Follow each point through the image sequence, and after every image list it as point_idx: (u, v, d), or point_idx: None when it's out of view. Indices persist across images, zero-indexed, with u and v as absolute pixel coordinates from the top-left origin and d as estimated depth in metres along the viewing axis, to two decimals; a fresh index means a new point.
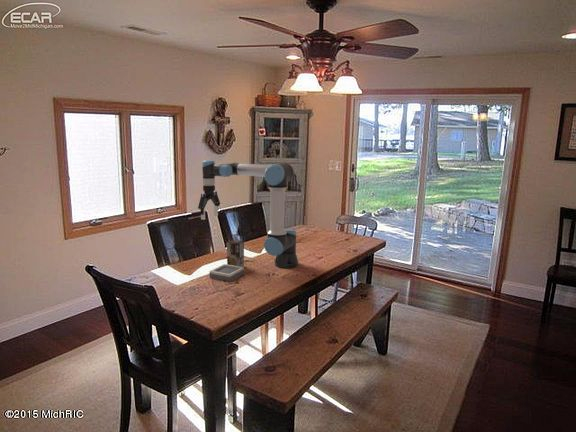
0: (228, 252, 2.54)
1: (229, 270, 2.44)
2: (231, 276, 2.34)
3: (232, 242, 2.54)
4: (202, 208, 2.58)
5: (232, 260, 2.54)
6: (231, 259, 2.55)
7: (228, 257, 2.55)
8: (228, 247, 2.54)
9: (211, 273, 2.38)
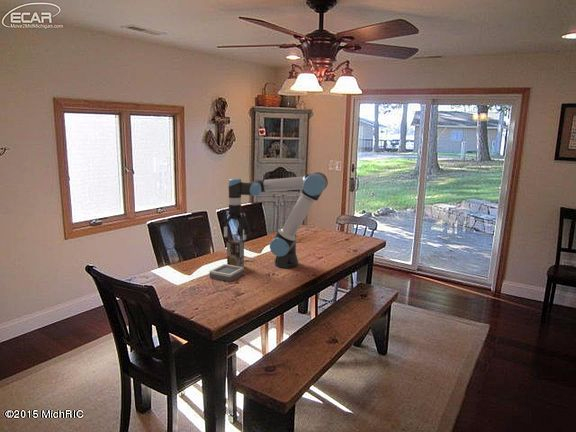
0: (228, 252, 2.54)
1: (229, 270, 2.44)
2: (231, 276, 2.34)
3: (232, 242, 2.54)
4: (222, 225, 2.56)
5: (232, 260, 2.54)
6: (231, 259, 2.55)
7: (228, 257, 2.55)
8: (228, 247, 2.54)
9: (211, 273, 2.38)
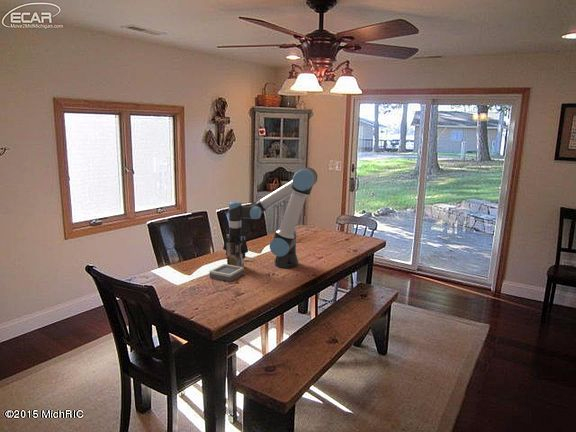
0: (228, 252, 2.54)
1: (229, 270, 2.44)
2: (231, 276, 2.34)
3: (232, 242, 2.54)
4: (225, 249, 2.58)
5: (232, 260, 2.54)
6: (231, 259, 2.55)
7: (228, 257, 2.55)
8: (228, 247, 2.54)
9: (211, 273, 2.38)
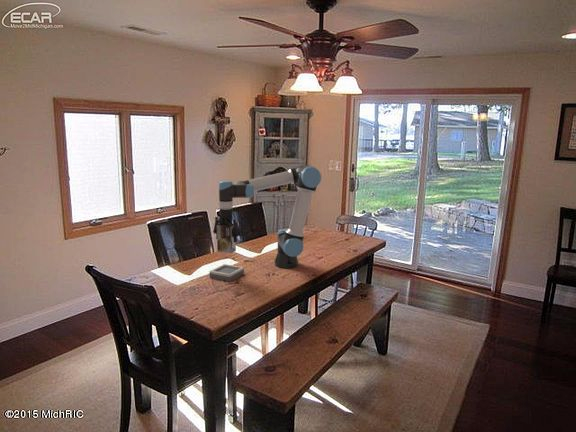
0: (218, 235, 2.36)
1: (229, 270, 2.44)
2: (231, 276, 2.34)
3: (223, 225, 2.36)
4: (216, 233, 2.40)
5: (223, 244, 2.36)
6: (222, 243, 2.36)
7: (218, 241, 2.37)
8: (218, 230, 2.36)
9: (211, 273, 2.38)
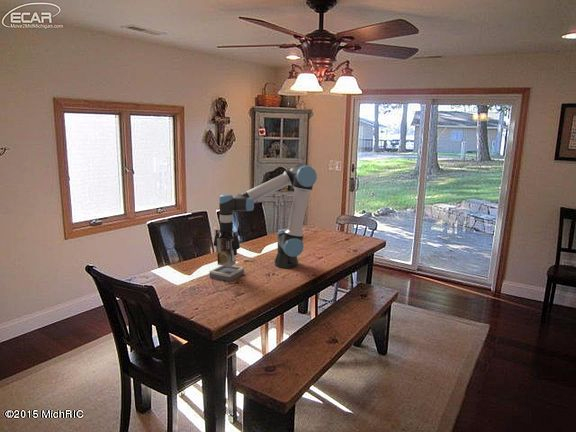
0: (218, 248, 2.38)
1: (229, 270, 2.44)
2: (231, 276, 2.34)
3: (223, 238, 2.37)
4: (216, 245, 2.41)
5: (223, 256, 2.38)
6: (222, 256, 2.38)
7: (218, 254, 2.38)
8: (218, 243, 2.37)
9: (211, 273, 2.38)
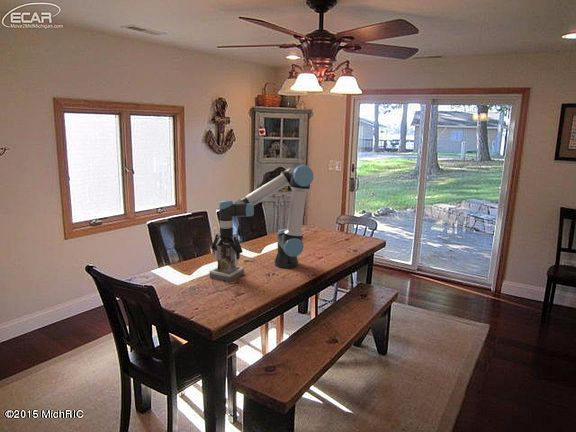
0: (219, 255, 2.39)
1: None
2: (231, 276, 2.34)
3: (223, 245, 2.38)
4: (214, 248, 2.43)
5: (223, 263, 2.39)
6: (222, 263, 2.39)
7: (219, 261, 2.39)
8: (219, 250, 2.38)
9: (211, 273, 2.38)
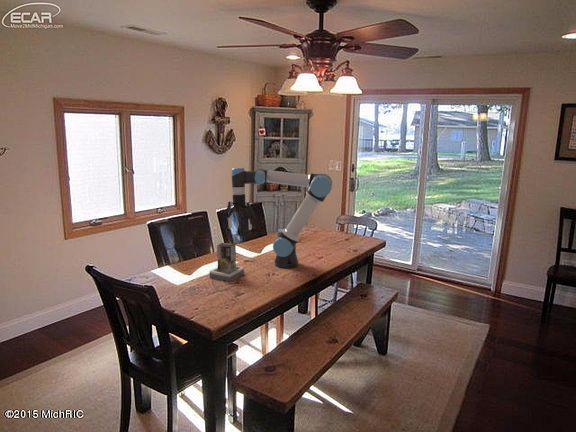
0: (219, 255, 2.39)
1: None
2: (231, 276, 2.34)
3: (223, 245, 2.38)
4: (227, 216, 2.50)
5: (223, 264, 2.39)
6: (222, 263, 2.39)
7: (219, 261, 2.39)
8: (219, 250, 2.38)
9: (211, 273, 2.38)
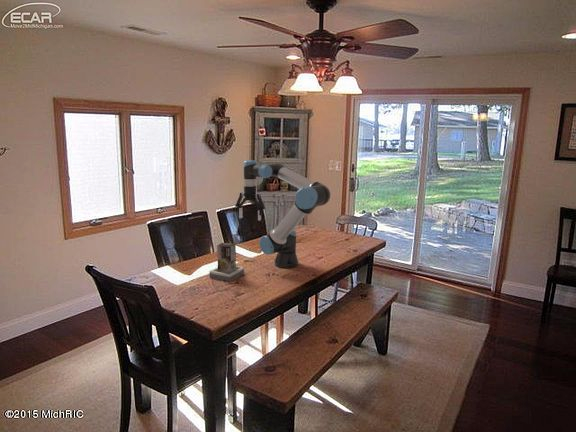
0: (219, 255, 2.39)
1: None
2: (231, 276, 2.34)
3: (223, 245, 2.38)
4: (238, 206, 2.62)
5: (223, 264, 2.39)
6: (222, 263, 2.39)
7: (219, 261, 2.39)
8: (219, 250, 2.38)
9: (211, 273, 2.38)
